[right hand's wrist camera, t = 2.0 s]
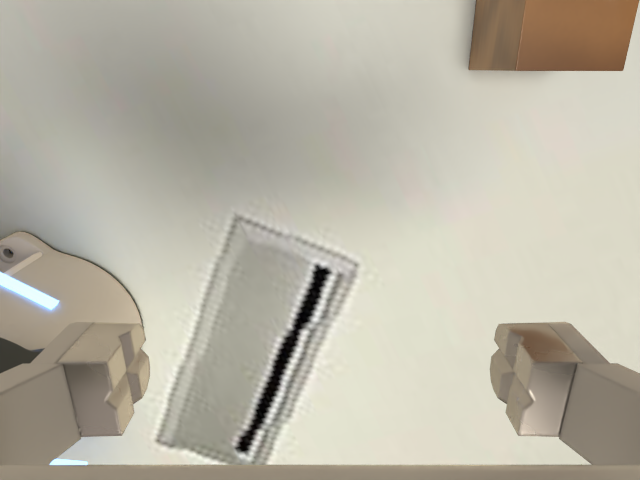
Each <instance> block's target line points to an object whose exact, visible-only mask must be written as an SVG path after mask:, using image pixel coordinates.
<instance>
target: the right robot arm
mask: <svg viewBox="0 0 640 480" xmlns="http://www.w3.org/2000/svg"><path fill="white" fill-rule="evenodd" d="M8 249H10V250H11V251H12V252H13V254H11V253H10V252H9V250H8ZM145 340H146V338H145V333H144V328H143V327H142V322H141V318H140V315H139V312H138V309H137V307H136V305H135V303H134V301H133V300H132V298H131V297H130V295H129V294H128V292H127V291H126V290H125V289H124V287H123V286H122V285H121V284H120V283H119V282H118V281H117V280H116V279H114V278H113V277H112V276H111V275H110V274H108V273H107V272H106V271H104V270H103V269H101V268H99V267H98V266H96V265H94V264H92V263H90V262H88V261H85V260H83V259H80V258H77V257H74V256H70V255H67V254H64V253H61V252H58V251H56V250H53V249H52V248H51V247H49V246H48V245H46V244H45V243H44V242H42V241H41V240H39V239H38V238H36V237H34V236H33V235H31V234H29V233H26V232H16V233H13V234H11V235H9V236H7V237H5V238H3V239H2V240H0V480H640V373H637V372H635V371H633V370H631V369H628V368H626V367H624V366H622V365H620V364H610V363H609V362H608V361H607V360H606V359H605V358H604V357H603V356H602V355H601V354H600V353H599V352H598V351H597V350H596V349H595V348H594V347H593V346H592V345H591V344H590V343H589V342H588V341H587V340H586V339H585V338H584V337H583V336H582V335H581V334H580V333H579V332H578V331H577V330H576V329H575V328H574V327H573V326H572V325H571V324H569V323H567V322H549V323H511V324H499V325H498V327H497V329H496V332H495V338H494V340H495V342H496V344H497V345H498V347H499V349H498V350H497V351H496V352H495V353H494V354H493V356H492V357H491V364H490V376H491V383H492V386H493V389H494V392H495V394H496V396H497V397H498V399H500V400H501V401H503V402H504V403H506V404H507V408H506V414H507V416H508V418H509V420H510V421H511V423H512V425H513V427H514V429H515V431H516V432H517V434H518V436H549V437H559V439H560V440H562V441H563V442H564V443H565V444H567V445H568V446H569V447H570V448H572V449H573V450H574V451H575V452H577V453H578V454H579V455H581V456H582V457H583V458H584V459H586V460H587V461H588V462H589V463H591V464H592V465H87V462H85V461H73V460H62V459H56V458H57V457H58V456H60V455H61V454H62V453H63V452H65V451H66V450H67V449H69V448H70V447H71V446H72V445H74V444H75V443H76V442H77V441H79V440H80V439H81V437H90V436H122V434H123V432H124V431H125V429H126V427H127V425H128V423H129V422H130V420H131V418H132V416H133V414H134V408H133V404H134V403H136V402H137V401H139V400H140V399H142V397H143V396H144V394H145V392H146V390H147V386H148V382H149V377H150V363H149V357H148V356H147V354H146V353H145V352H144V351H143V350H142V349H141V347H142V345H143V344H144V342H145Z"/></svg>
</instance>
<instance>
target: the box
mask: <svg viewBox="0 0 640 480" xmlns="http://www.w3.org/2000/svg"><path fill="white" fill-rule="evenodd" d="M638 3H639V0H476V8H475V17H474V26H473V35H472V44H471V53H470V62H469V70H504V71H623V69H624V65H625V60H626V56H627V51H628V47H629V43H630V38H631V34H632V30H633V25H634V21H635V16H636V12H637V8H638Z"/></svg>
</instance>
